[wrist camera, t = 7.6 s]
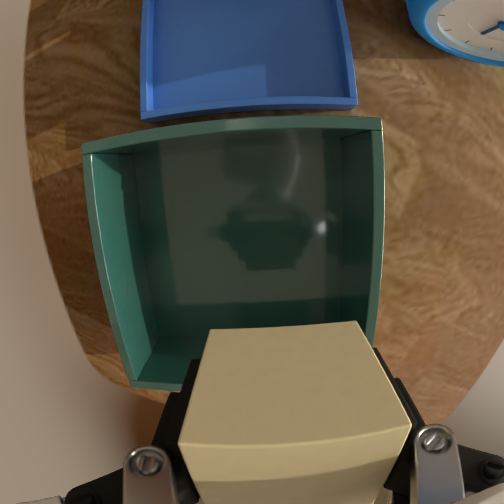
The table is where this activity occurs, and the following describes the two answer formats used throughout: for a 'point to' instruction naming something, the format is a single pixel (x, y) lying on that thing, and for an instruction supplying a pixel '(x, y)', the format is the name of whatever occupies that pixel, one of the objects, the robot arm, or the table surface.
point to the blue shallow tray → (243, 57)
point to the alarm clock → (462, 27)
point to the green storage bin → (234, 232)
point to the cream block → (291, 417)
